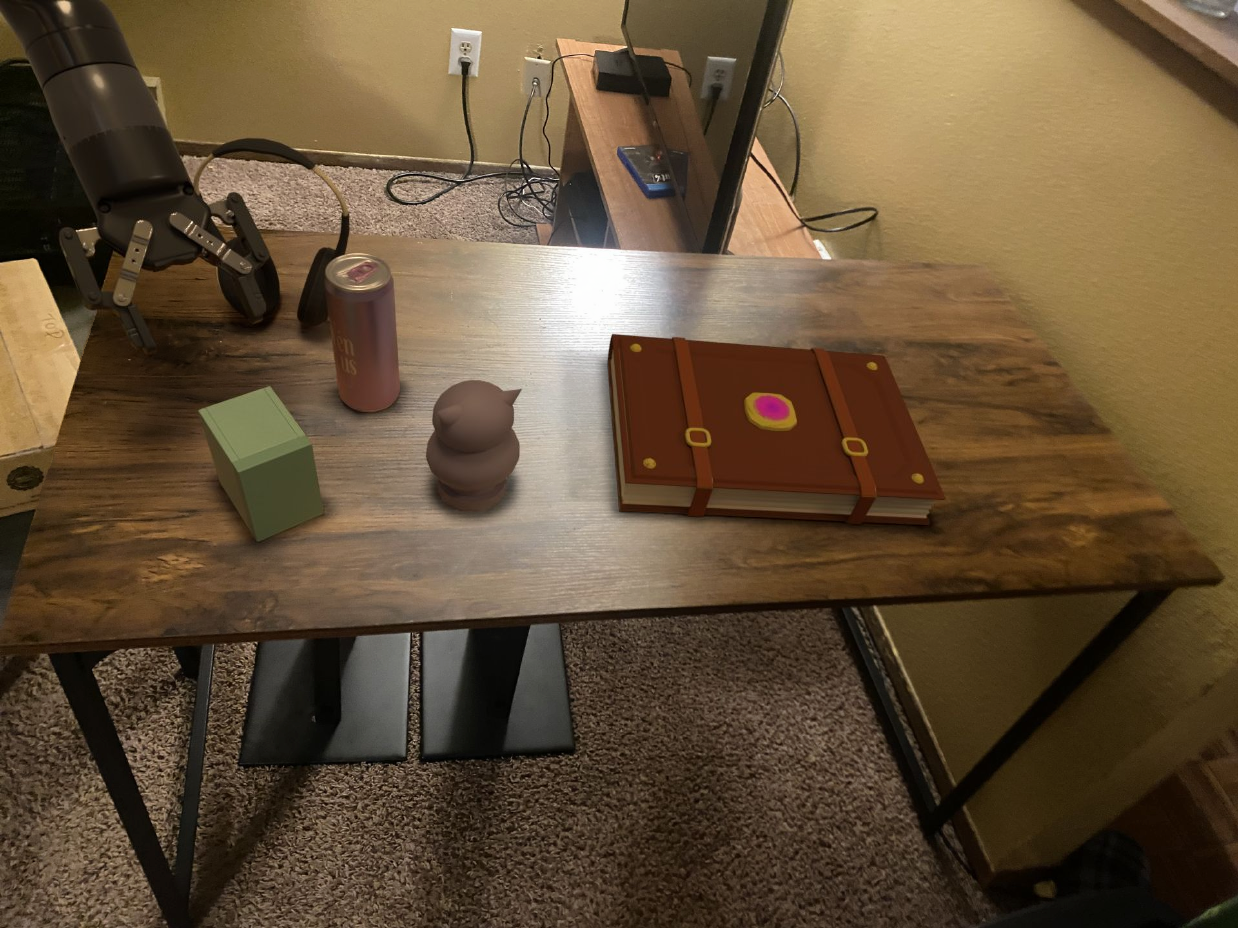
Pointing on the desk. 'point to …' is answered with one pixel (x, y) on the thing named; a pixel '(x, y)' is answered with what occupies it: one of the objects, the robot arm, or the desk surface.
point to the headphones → (313, 293)
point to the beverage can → (363, 330)
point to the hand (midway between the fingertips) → (206, 336)
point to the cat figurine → (473, 444)
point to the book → (764, 433)
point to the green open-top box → (263, 462)
